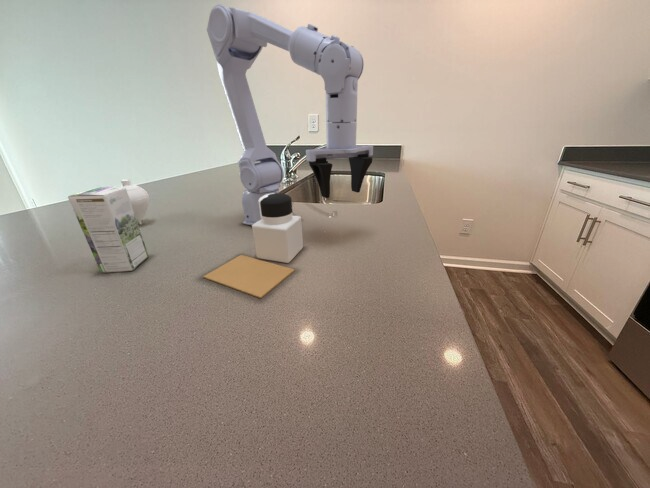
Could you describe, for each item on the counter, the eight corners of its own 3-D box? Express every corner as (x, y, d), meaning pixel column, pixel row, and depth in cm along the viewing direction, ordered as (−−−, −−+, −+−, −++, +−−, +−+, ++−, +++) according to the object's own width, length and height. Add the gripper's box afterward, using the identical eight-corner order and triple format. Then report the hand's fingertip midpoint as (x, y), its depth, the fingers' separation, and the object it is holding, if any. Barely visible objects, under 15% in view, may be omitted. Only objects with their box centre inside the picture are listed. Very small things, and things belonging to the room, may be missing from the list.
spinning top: (163, 219, 73) (150, 176, 68) (143, 230, 66) (127, 183, 61) (138, 219, 74) (123, 176, 68) (116, 229, 67) (97, 183, 62)
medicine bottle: (303, 247, 54) (300, 191, 49) (288, 264, 48) (282, 202, 43) (274, 243, 57) (267, 189, 51) (256, 258, 51) (246, 199, 45)
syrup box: (120, 258, 52) (90, 187, 46) (150, 256, 52) (125, 185, 46) (100, 273, 47) (64, 195, 41) (134, 271, 47) (103, 193, 41)
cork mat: (203, 277, 45) (203, 276, 45) (241, 255, 52) (241, 254, 52) (261, 298, 39) (260, 297, 39) (294, 270, 46) (294, 269, 46)
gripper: (317, 123, 42) (320, 204, 48) (385, 121, 48) (380, 192, 54) (299, 123, 47) (303, 196, 53) (362, 122, 54) (359, 186, 60)
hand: (341, 194), depth 54 cm, fingers open, 7 cm apart
